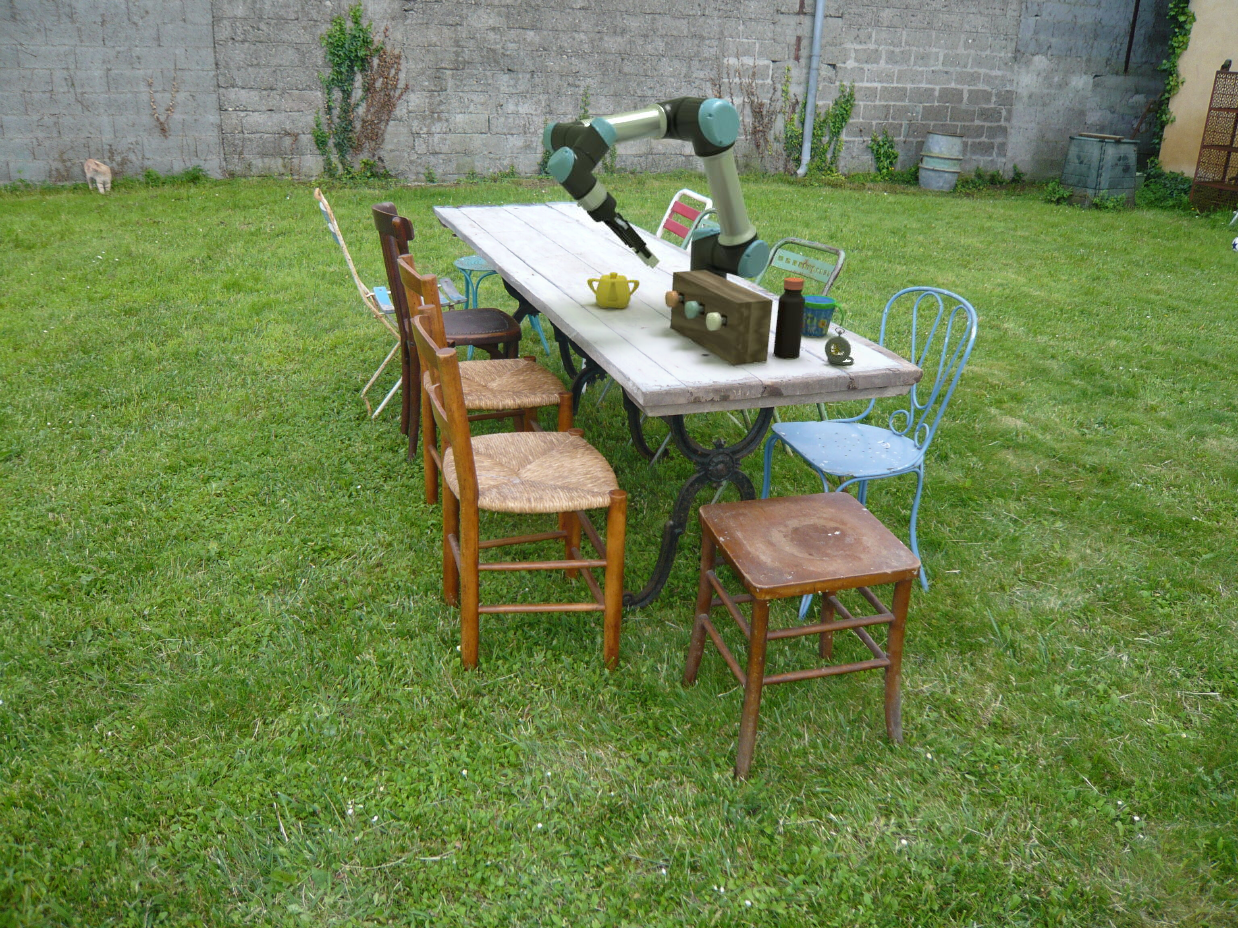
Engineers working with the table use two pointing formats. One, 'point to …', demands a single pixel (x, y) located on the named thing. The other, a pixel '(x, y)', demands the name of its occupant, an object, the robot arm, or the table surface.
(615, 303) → the yellow handled pot
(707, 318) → the cream button
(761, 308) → the console
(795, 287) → the bottle
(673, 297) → the terracotta button
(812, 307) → the snack cup
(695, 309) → the teal button
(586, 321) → the table surface
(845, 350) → the pocket watch
